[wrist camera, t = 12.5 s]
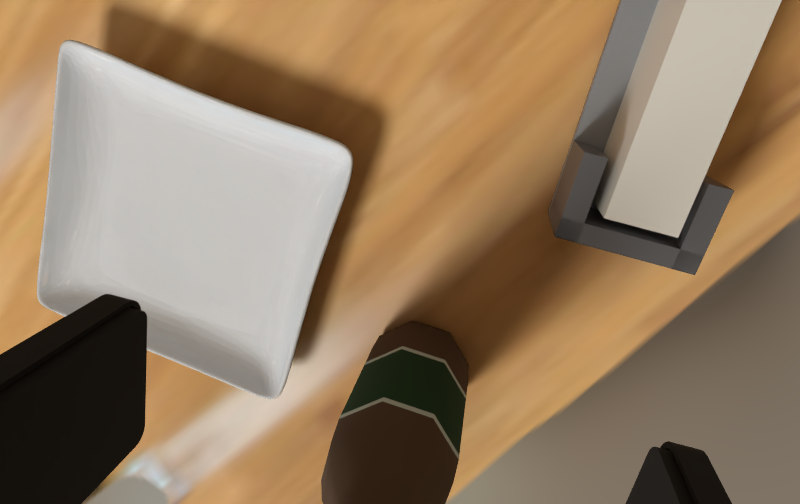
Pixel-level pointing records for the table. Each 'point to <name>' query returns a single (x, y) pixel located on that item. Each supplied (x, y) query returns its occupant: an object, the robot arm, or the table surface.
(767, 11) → the beige rectangular block
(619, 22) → the endcap jig
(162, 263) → the salad plate
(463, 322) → the table surface
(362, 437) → the beer bottle
